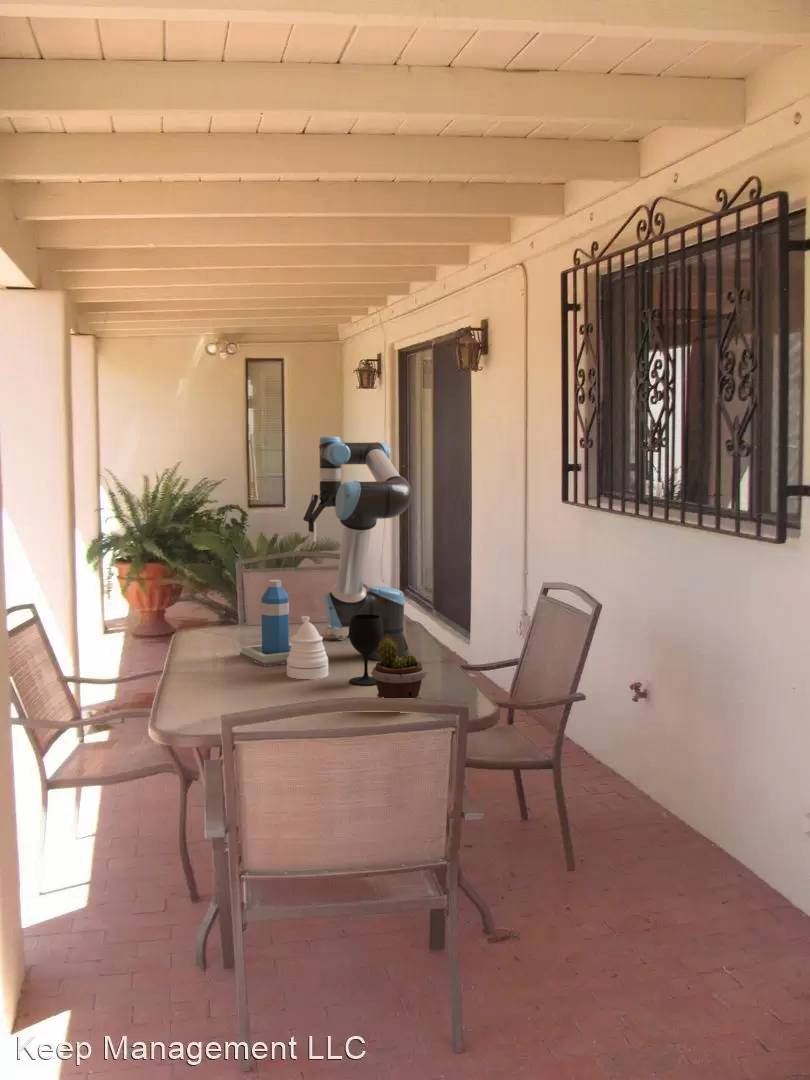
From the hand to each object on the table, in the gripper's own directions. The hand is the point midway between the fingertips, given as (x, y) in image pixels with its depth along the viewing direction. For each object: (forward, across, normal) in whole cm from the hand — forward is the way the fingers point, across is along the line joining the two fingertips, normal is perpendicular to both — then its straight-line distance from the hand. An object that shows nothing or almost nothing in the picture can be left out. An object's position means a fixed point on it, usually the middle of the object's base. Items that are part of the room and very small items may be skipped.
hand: (330, 540), depth 369 cm
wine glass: (+37, +19, +57) cm, 71 cm away
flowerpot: (+37, +25, +85) cm, 96 cm away
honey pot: (+37, +30, +40) cm, 62 cm away
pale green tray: (+37, +28, +13) cm, 48 cm away
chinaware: (+37, -14, -2) cm, 40 cm away
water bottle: (+36, +28, +13) cm, 47 cm away
